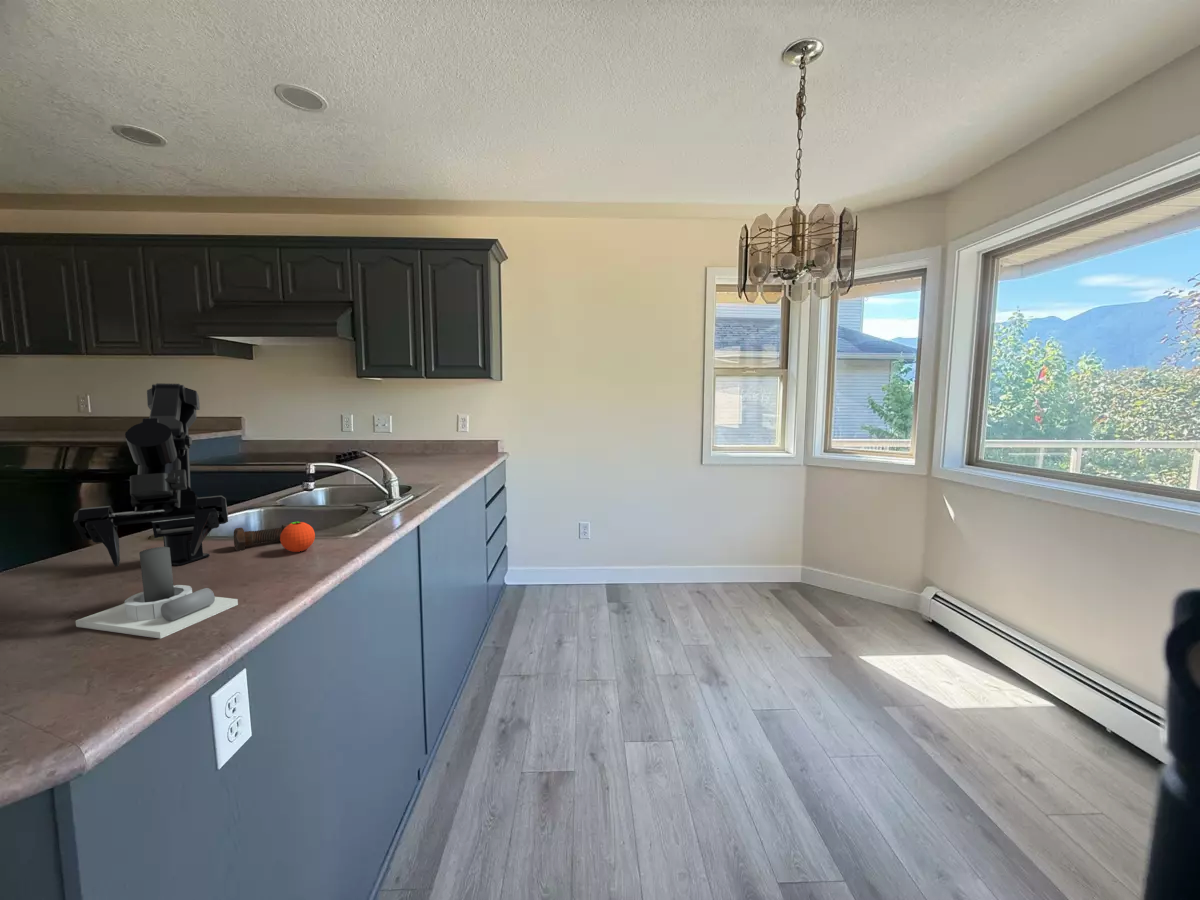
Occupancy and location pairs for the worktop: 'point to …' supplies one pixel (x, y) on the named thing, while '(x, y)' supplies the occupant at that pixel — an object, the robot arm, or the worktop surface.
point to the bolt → (255, 536)
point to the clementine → (297, 536)
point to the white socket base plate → (159, 613)
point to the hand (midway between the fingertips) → (155, 559)
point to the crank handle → (156, 574)
